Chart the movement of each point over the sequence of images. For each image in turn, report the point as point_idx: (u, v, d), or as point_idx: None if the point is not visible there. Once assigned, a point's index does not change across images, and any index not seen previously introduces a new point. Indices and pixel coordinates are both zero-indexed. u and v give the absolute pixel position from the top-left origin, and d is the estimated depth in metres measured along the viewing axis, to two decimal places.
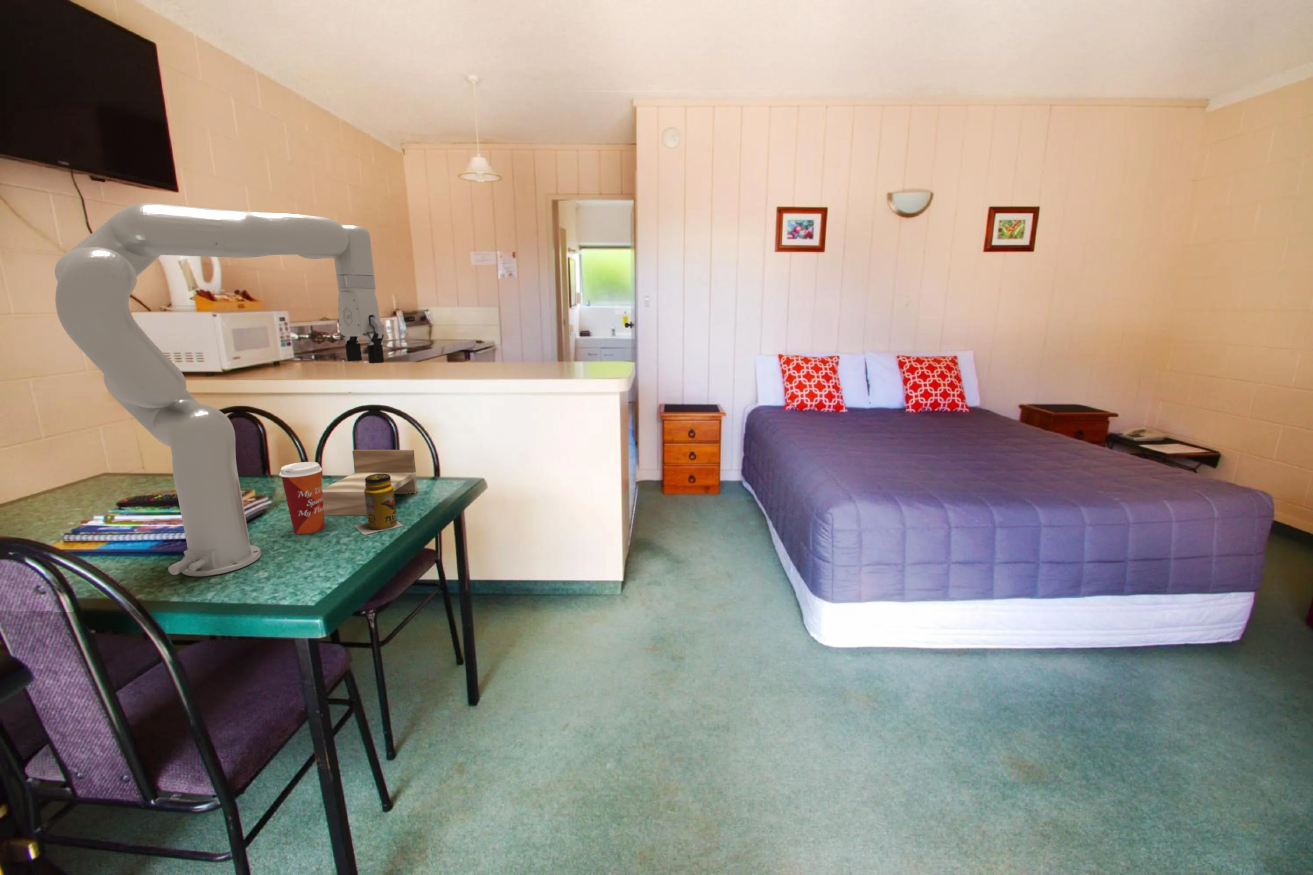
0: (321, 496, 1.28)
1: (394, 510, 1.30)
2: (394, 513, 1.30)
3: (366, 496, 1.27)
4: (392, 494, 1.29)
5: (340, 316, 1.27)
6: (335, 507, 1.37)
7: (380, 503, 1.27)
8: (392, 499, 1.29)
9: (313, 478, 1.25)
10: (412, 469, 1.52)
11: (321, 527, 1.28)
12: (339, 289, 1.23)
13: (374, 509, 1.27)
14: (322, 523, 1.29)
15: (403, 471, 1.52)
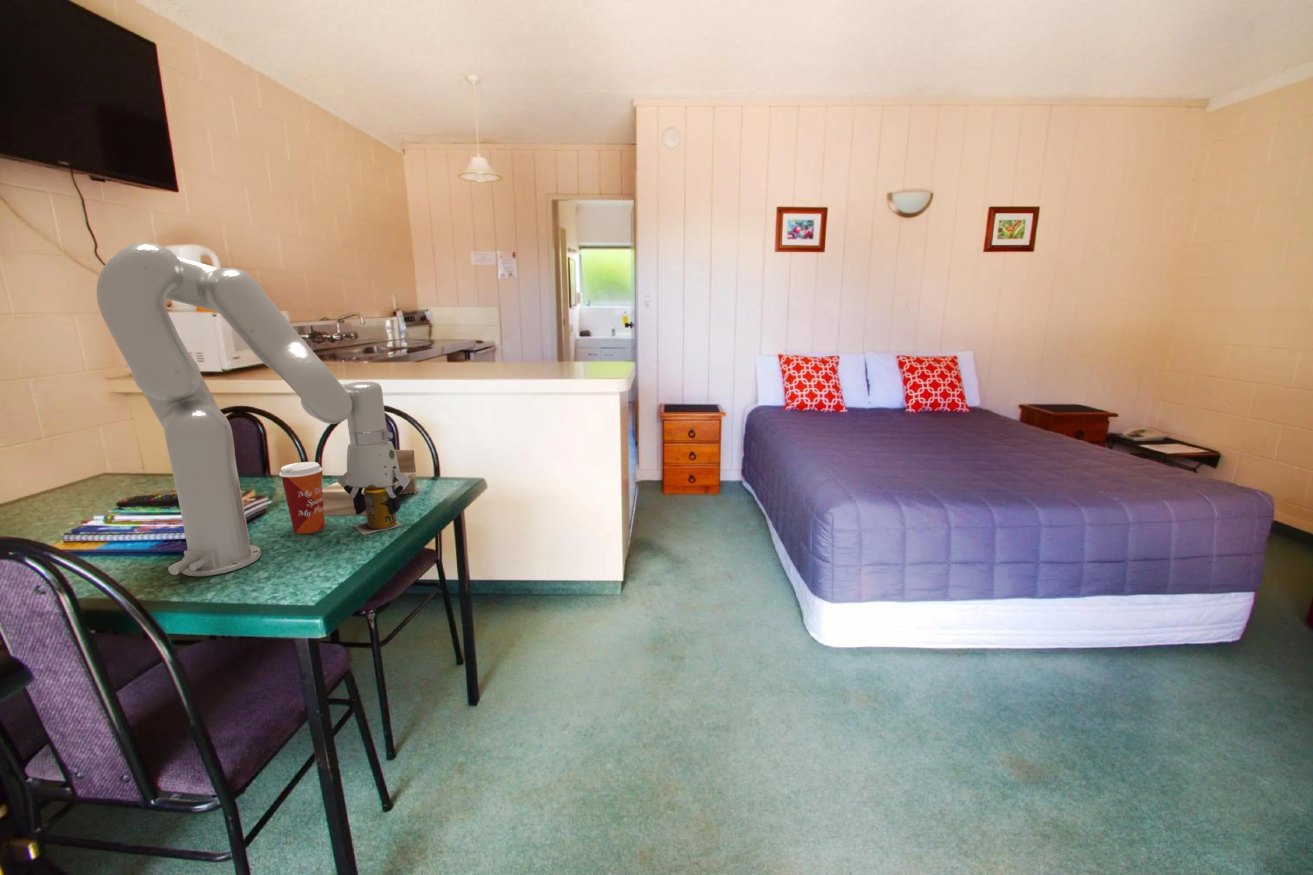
0: (321, 496, 1.28)
1: None
2: None
3: (365, 496, 1.27)
4: None
5: None
6: (335, 507, 1.37)
7: (379, 503, 1.27)
8: None
9: (313, 478, 1.25)
10: (412, 469, 1.52)
11: (321, 527, 1.28)
12: None
13: (373, 509, 1.27)
14: (322, 523, 1.29)
15: (403, 471, 1.52)
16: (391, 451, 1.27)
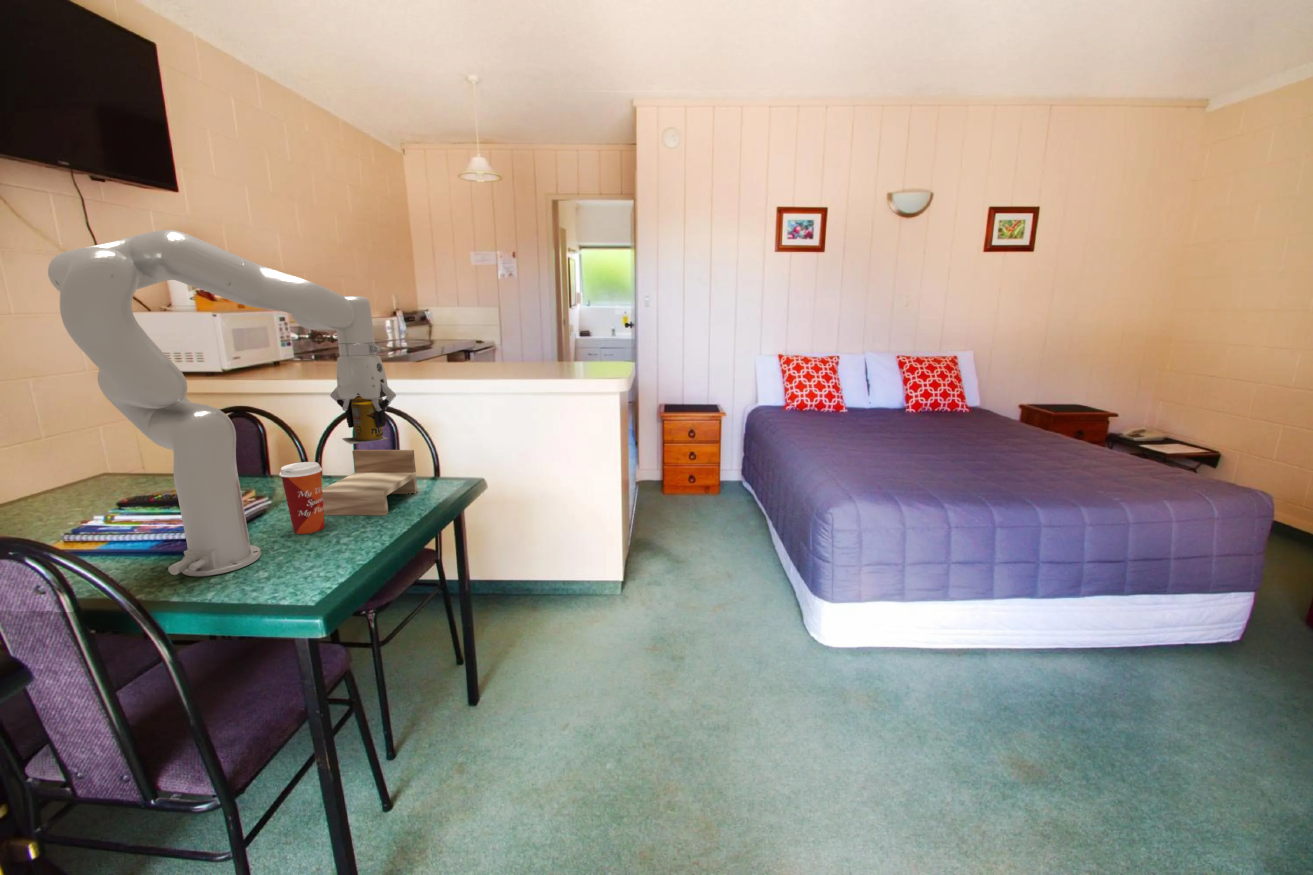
0: (321, 496, 1.28)
1: None
2: (380, 427, 1.35)
3: (353, 408, 1.32)
4: None
5: None
6: (335, 507, 1.37)
7: (366, 415, 1.32)
8: None
9: (313, 478, 1.25)
10: (412, 469, 1.52)
11: (321, 527, 1.28)
12: None
13: (360, 420, 1.32)
14: (322, 523, 1.29)
15: (403, 471, 1.52)
16: (379, 365, 1.32)
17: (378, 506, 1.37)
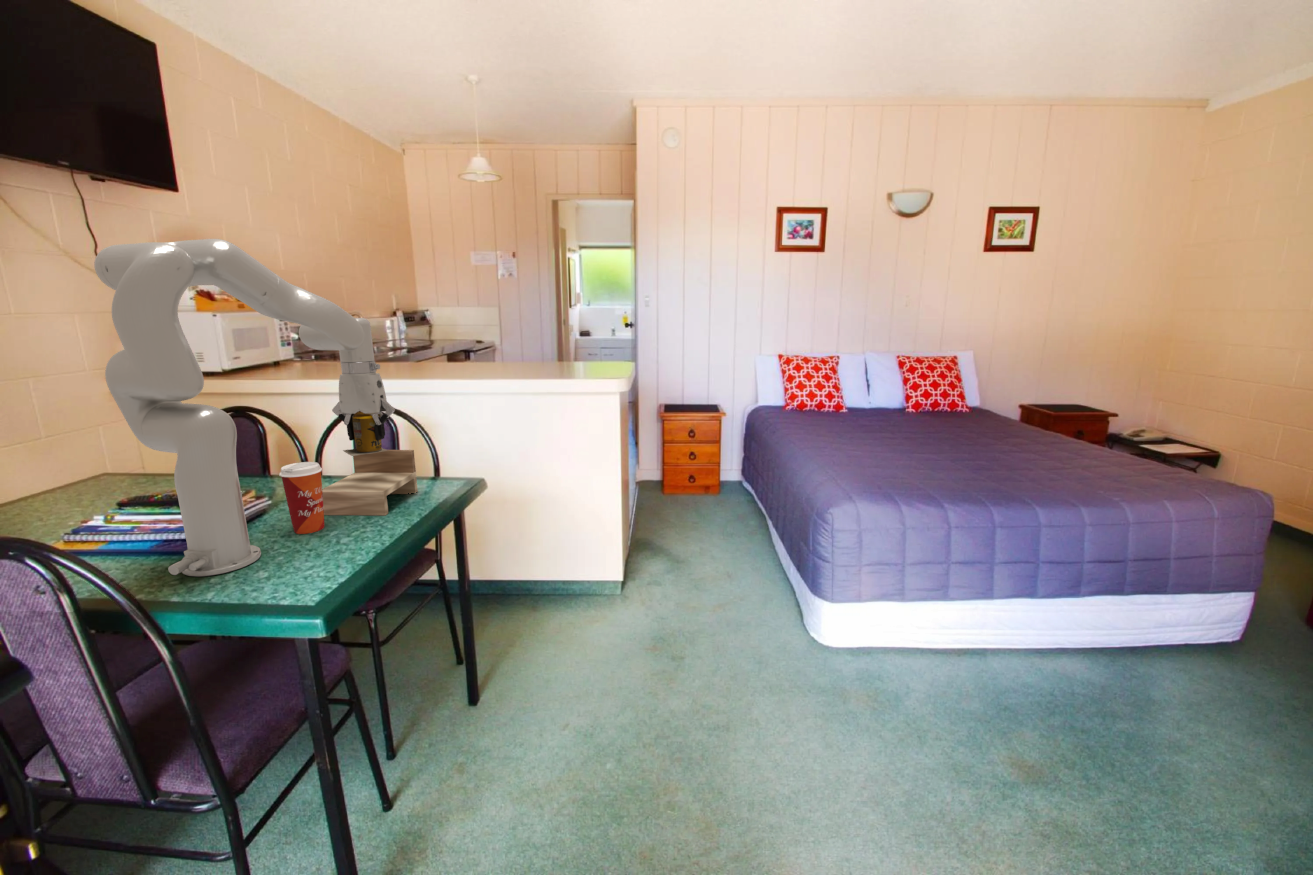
0: (321, 496, 1.28)
1: None
2: None
3: (354, 422, 1.41)
4: None
5: None
6: (335, 507, 1.37)
7: (366, 429, 1.41)
8: None
9: (313, 478, 1.25)
10: (412, 469, 1.52)
11: (321, 527, 1.28)
12: None
13: (361, 433, 1.41)
14: (322, 523, 1.29)
15: (403, 471, 1.52)
16: (379, 381, 1.41)
17: (378, 506, 1.37)
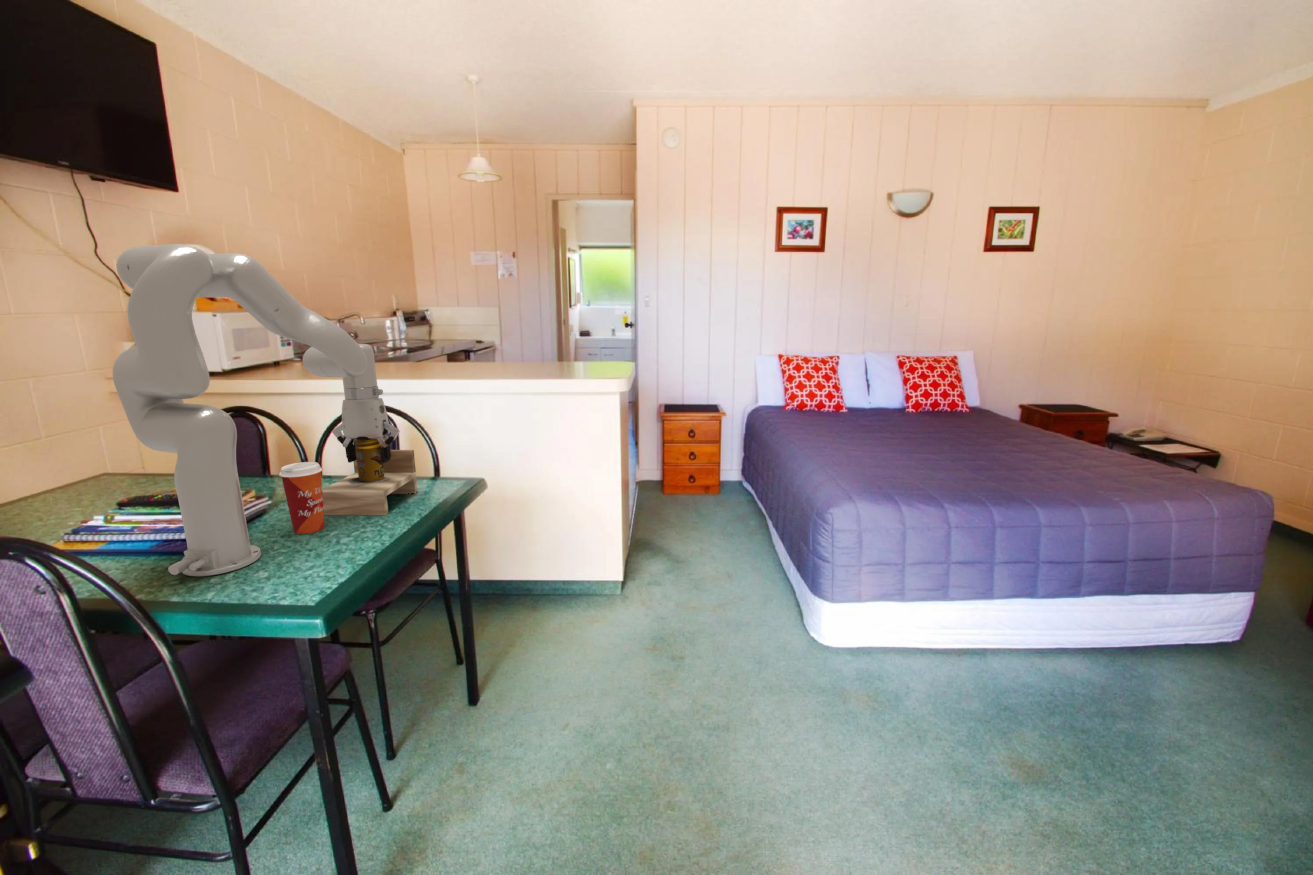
0: (321, 496, 1.28)
1: (382, 465, 1.45)
2: (382, 468, 1.45)
3: (357, 452, 1.42)
4: (380, 451, 1.44)
5: None
6: (335, 507, 1.37)
7: (369, 458, 1.42)
8: (380, 455, 1.44)
9: (313, 478, 1.25)
10: (412, 469, 1.52)
11: (321, 527, 1.28)
12: None
13: (364, 463, 1.42)
14: (322, 523, 1.29)
15: (403, 471, 1.52)
16: (381, 406, 1.42)
17: (378, 506, 1.37)
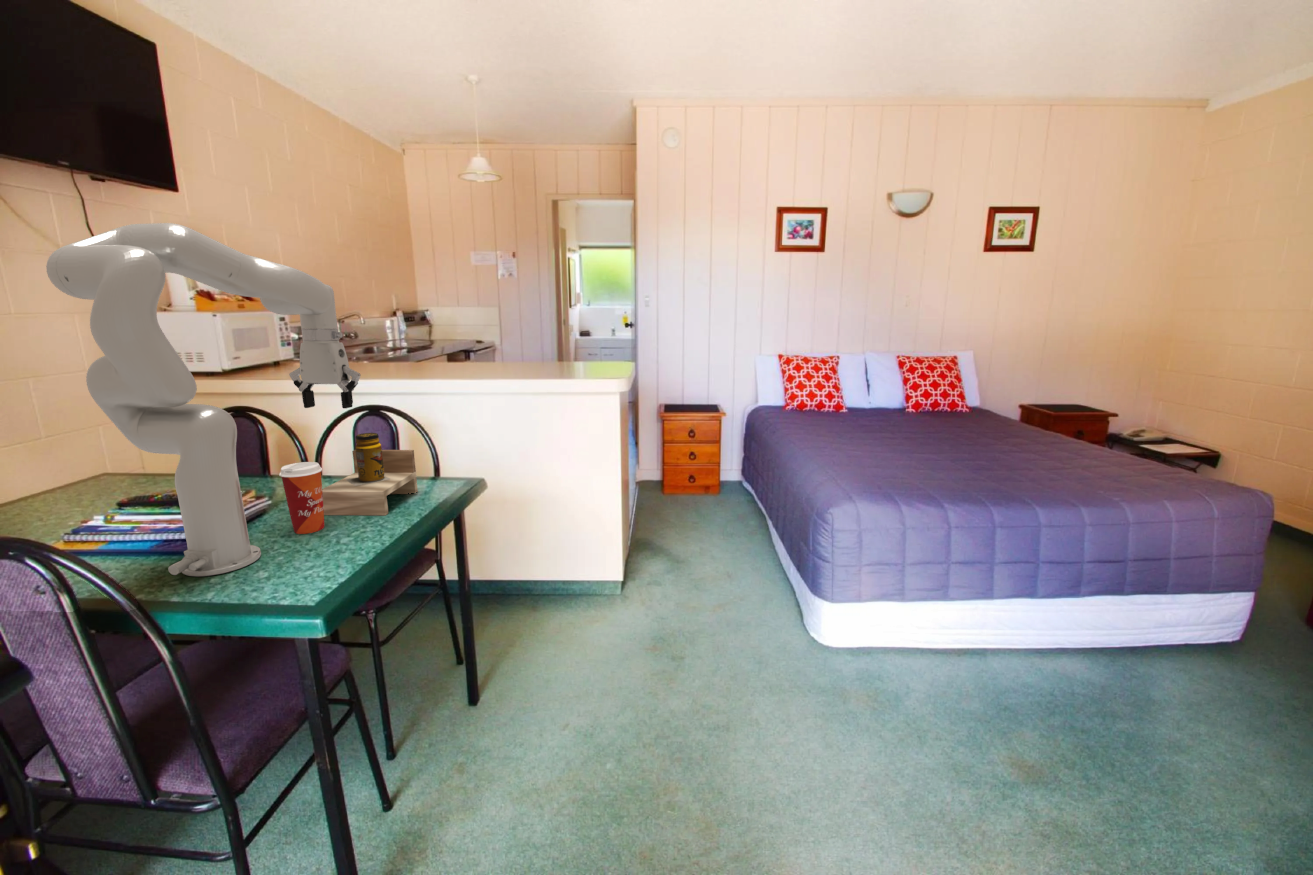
0: (321, 496, 1.28)
1: (382, 465, 1.45)
2: (382, 468, 1.45)
3: (357, 452, 1.42)
4: (380, 451, 1.44)
5: None
6: (335, 507, 1.37)
7: (369, 458, 1.42)
8: (380, 455, 1.44)
9: (313, 478, 1.25)
10: (412, 469, 1.52)
11: (321, 527, 1.28)
12: None
13: (364, 463, 1.42)
14: (322, 523, 1.29)
15: (403, 471, 1.52)
16: (341, 351, 1.36)
17: (378, 506, 1.37)
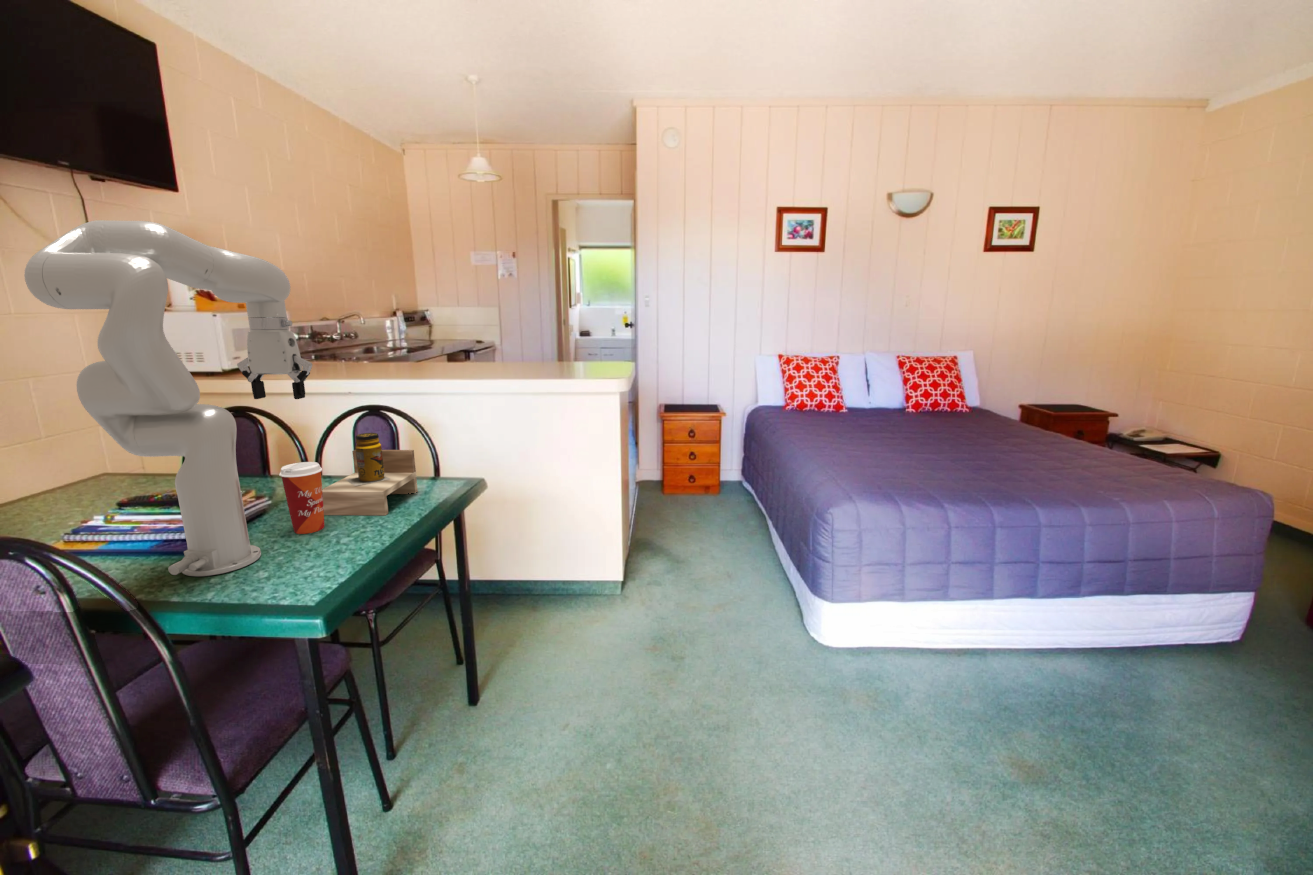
0: (321, 496, 1.28)
1: (382, 465, 1.45)
2: (382, 468, 1.45)
3: (357, 452, 1.42)
4: (380, 451, 1.44)
5: None
6: (335, 507, 1.37)
7: (369, 458, 1.42)
8: (380, 455, 1.44)
9: (313, 478, 1.25)
10: (412, 469, 1.52)
11: (321, 527, 1.28)
12: None
13: (364, 463, 1.42)
14: (322, 523, 1.29)
15: (403, 471, 1.52)
16: (291, 340, 1.32)
17: (378, 506, 1.37)
